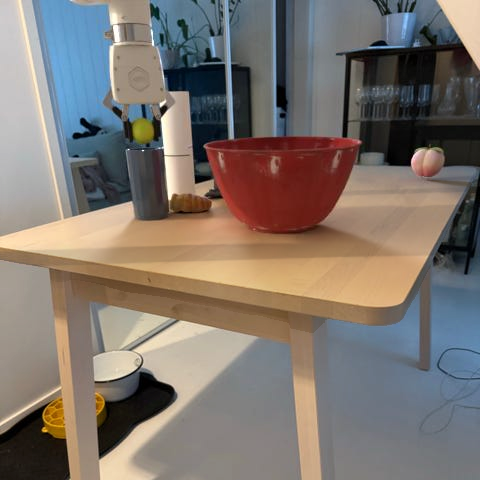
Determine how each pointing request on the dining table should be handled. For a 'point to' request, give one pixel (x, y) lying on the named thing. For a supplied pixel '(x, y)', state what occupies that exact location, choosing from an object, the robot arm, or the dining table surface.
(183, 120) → the cylindrical container
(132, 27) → the robot arm
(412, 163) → the decorative fruit
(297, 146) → the mixing bowl
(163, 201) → the cup
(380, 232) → the dining table surface
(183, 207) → the pastry
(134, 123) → the ball
